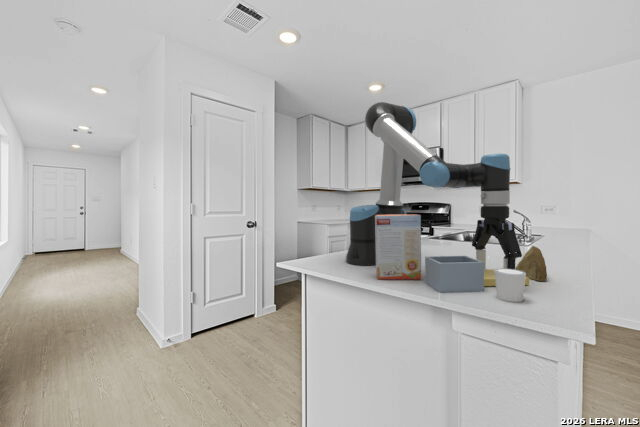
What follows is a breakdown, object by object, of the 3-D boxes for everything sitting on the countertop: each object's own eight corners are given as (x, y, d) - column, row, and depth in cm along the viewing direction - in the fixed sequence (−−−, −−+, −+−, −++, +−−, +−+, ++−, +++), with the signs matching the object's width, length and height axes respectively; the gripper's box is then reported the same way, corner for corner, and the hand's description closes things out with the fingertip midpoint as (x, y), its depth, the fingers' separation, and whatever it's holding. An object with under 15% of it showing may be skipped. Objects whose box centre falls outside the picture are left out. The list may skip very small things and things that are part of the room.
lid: (462, 279, 94) (462, 270, 94) (503, 277, 95) (503, 268, 94) (482, 289, 83) (482, 279, 83) (529, 288, 84) (529, 278, 84)
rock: (558, 276, 84) (554, 265, 92) (537, 252, 86) (535, 243, 94) (522, 292, 90) (521, 280, 98) (503, 270, 92) (503, 260, 100)
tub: (425, 282, 89) (425, 256, 88) (464, 281, 89) (465, 255, 89) (439, 292, 79) (439, 263, 79) (483, 290, 80) (484, 262, 79)
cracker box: (417, 275, 97) (417, 213, 96) (421, 280, 91) (421, 214, 90) (375, 275, 98) (374, 214, 97) (376, 279, 92) (376, 215, 91)
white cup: (528, 297, 74) (528, 270, 73) (522, 304, 69) (523, 276, 69) (498, 291, 79) (498, 266, 78) (490, 298, 74) (490, 271, 74)
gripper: (461, 204, 100) (460, 265, 101) (511, 206, 75) (510, 286, 76) (482, 204, 100) (481, 265, 101) (538, 206, 76) (537, 286, 77)
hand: (493, 274), depth 89 cm, fingers open, 12 cm apart
